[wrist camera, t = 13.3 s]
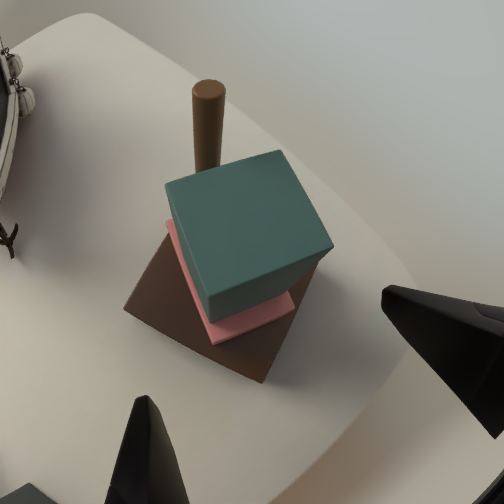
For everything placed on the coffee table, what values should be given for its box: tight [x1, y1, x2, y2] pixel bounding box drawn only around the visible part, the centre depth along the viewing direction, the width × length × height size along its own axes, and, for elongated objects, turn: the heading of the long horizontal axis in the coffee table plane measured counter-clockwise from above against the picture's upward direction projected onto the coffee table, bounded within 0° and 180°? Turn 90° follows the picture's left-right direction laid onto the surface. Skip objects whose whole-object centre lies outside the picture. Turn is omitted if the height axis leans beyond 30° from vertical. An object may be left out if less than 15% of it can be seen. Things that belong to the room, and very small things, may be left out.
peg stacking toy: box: [165, 79, 334, 345], centre depth 10 cm, size 6×4×10 cm, turn 24°
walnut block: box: [123, 232, 318, 384], centre depth 16 cm, size 8×8×2 cm
